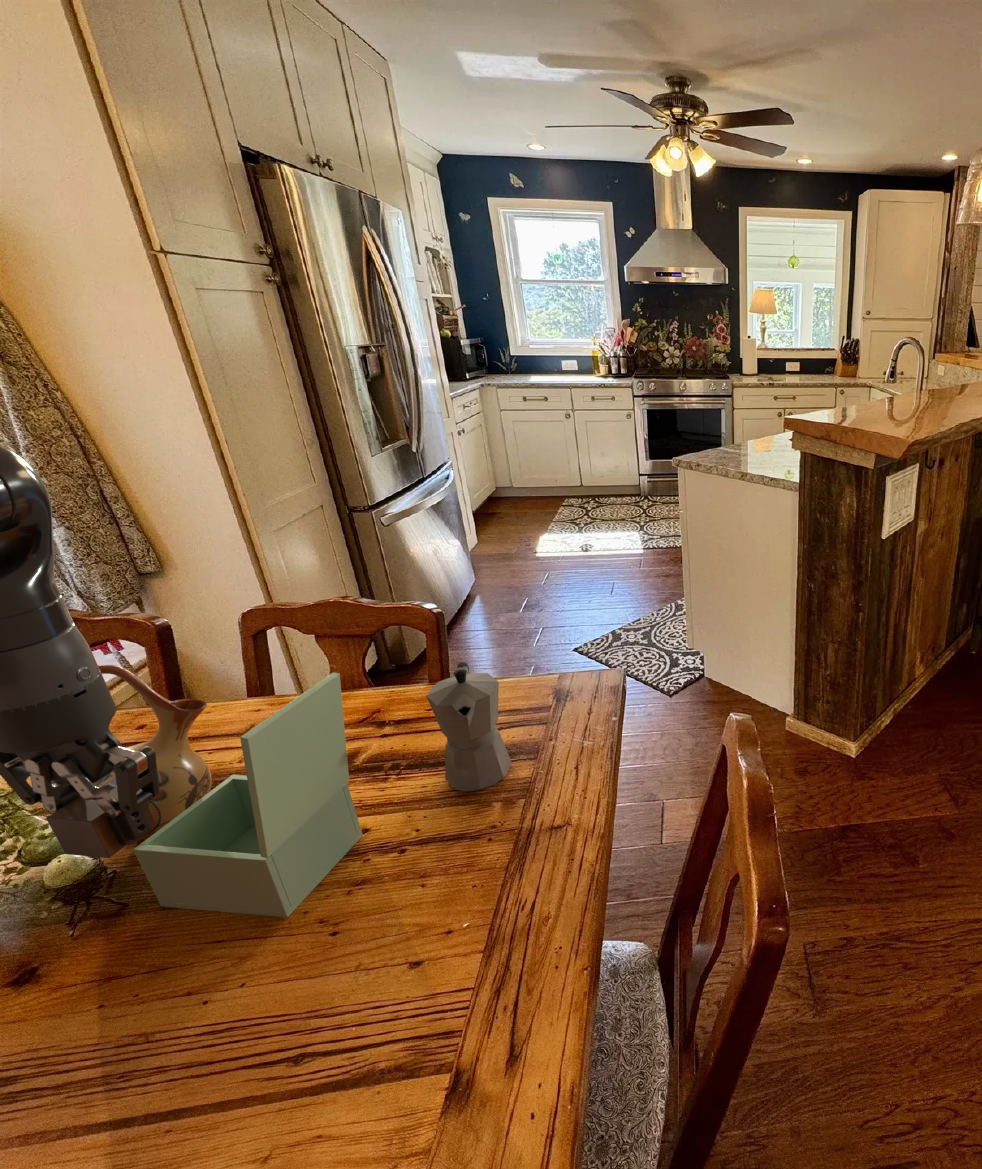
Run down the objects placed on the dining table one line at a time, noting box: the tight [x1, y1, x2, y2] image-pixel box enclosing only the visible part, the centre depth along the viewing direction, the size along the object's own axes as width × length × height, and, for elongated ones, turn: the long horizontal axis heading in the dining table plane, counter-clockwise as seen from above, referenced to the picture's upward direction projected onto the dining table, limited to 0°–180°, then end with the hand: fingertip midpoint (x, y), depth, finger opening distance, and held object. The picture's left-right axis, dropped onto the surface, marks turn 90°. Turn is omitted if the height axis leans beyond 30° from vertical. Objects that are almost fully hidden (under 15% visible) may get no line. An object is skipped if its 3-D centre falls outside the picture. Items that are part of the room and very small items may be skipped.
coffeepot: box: [426, 661, 513, 792], centre depth 93 cm, size 15×9×18 cm, turn 26°
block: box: [46, 787, 156, 859], centre depth 58 cm, size 4×4×4 cm
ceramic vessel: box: [92, 664, 213, 841], centre depth 78 cm, size 16×9×25 cm, turn 131°
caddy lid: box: [239, 672, 350, 858], centre depth 70 cm, size 16×13×1 cm
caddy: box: [132, 774, 364, 918], centre depth 76 cm, size 16×13×9 cm
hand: (111, 835), depth 59 cm, fingers closed on block, 4 cm apart
